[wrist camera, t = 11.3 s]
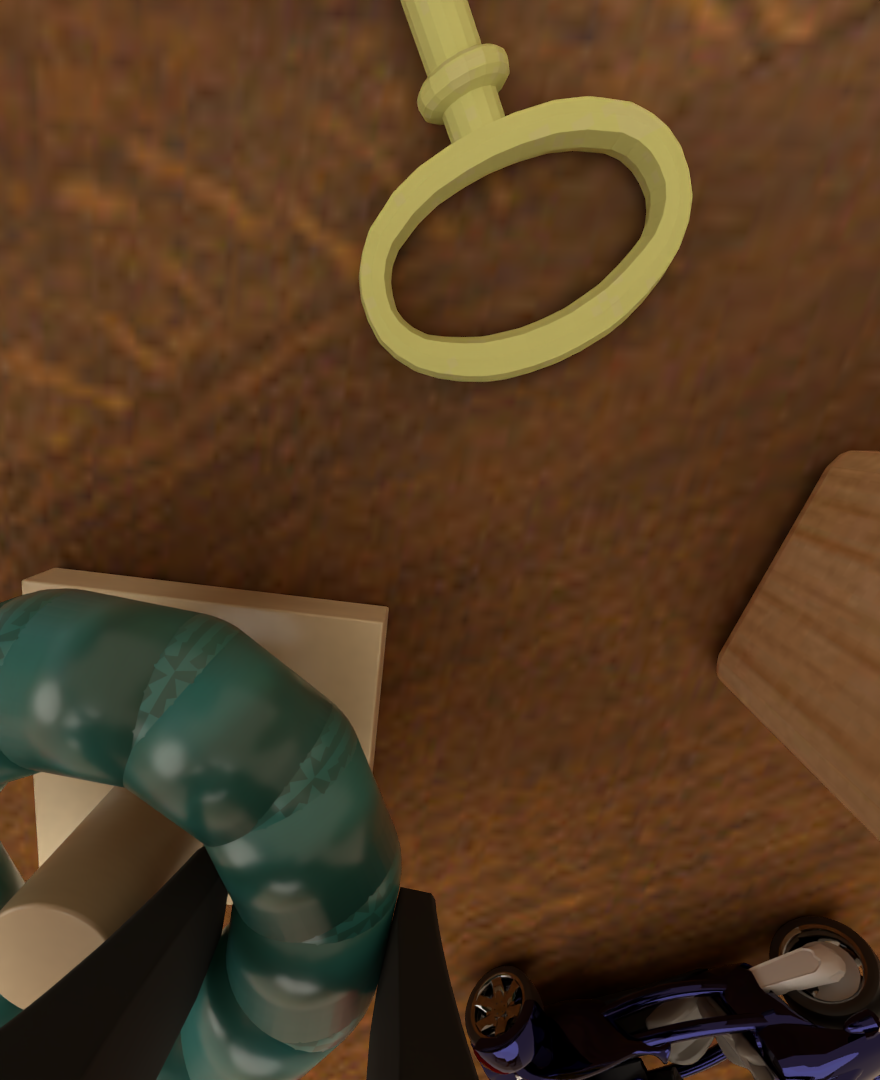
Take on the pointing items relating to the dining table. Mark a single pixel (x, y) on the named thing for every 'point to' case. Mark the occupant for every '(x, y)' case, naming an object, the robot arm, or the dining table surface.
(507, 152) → the key
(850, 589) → the decorative item
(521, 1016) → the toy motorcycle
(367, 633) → the post stand
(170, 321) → the dining table surface
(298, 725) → the ring
